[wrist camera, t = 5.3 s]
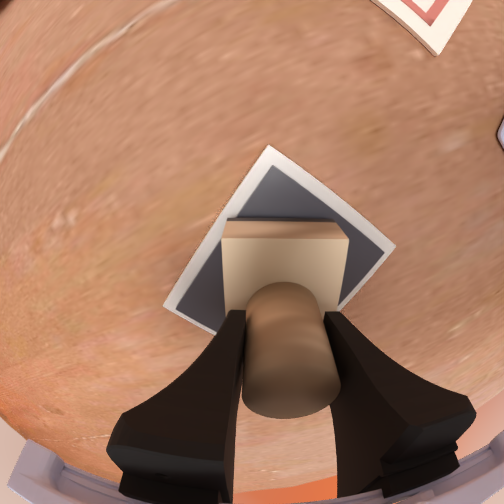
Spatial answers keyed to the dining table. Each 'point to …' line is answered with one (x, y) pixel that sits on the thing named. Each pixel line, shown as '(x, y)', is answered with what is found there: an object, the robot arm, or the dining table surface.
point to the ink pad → (274, 206)
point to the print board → (427, 19)
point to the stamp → (285, 309)
